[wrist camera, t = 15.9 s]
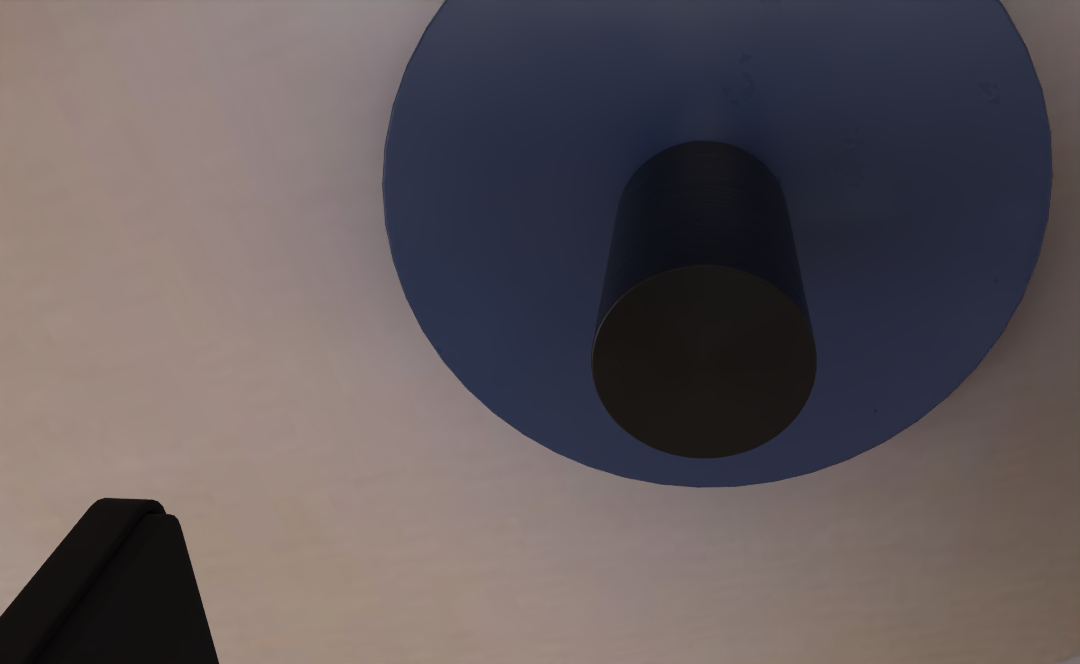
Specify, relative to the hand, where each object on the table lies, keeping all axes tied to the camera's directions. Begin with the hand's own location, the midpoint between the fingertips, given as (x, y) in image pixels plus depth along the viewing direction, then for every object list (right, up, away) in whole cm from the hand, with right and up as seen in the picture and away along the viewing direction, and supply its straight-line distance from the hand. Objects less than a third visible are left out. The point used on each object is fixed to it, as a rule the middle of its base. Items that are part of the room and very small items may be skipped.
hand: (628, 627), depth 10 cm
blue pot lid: (+3, +6, +13) cm, 15 cm away
